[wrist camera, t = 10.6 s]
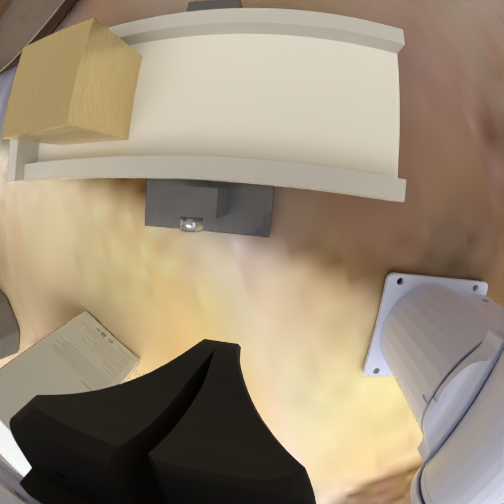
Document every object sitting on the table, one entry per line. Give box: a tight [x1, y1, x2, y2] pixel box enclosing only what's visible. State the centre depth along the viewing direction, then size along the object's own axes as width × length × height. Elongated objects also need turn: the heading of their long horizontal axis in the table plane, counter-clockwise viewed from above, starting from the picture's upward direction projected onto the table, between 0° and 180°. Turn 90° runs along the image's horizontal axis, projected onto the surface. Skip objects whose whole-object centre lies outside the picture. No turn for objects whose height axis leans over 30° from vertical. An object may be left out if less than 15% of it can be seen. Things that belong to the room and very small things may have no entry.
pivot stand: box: [145, 0, 274, 237], centre depth 15 cm, size 8×15×4 cm, turn 175°
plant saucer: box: [0, 0, 76, 74], centre depth 14 cm, size 21×21×3 cm
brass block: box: [2, 18, 142, 146], centre depth 11 cm, size 5×5×5 cm
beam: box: [7, 8, 406, 202], centre depth 12 cm, size 22×9×3 cm, turn 85°
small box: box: [0, 311, 140, 477], centre depth 16 cm, size 8×6×13 cm
